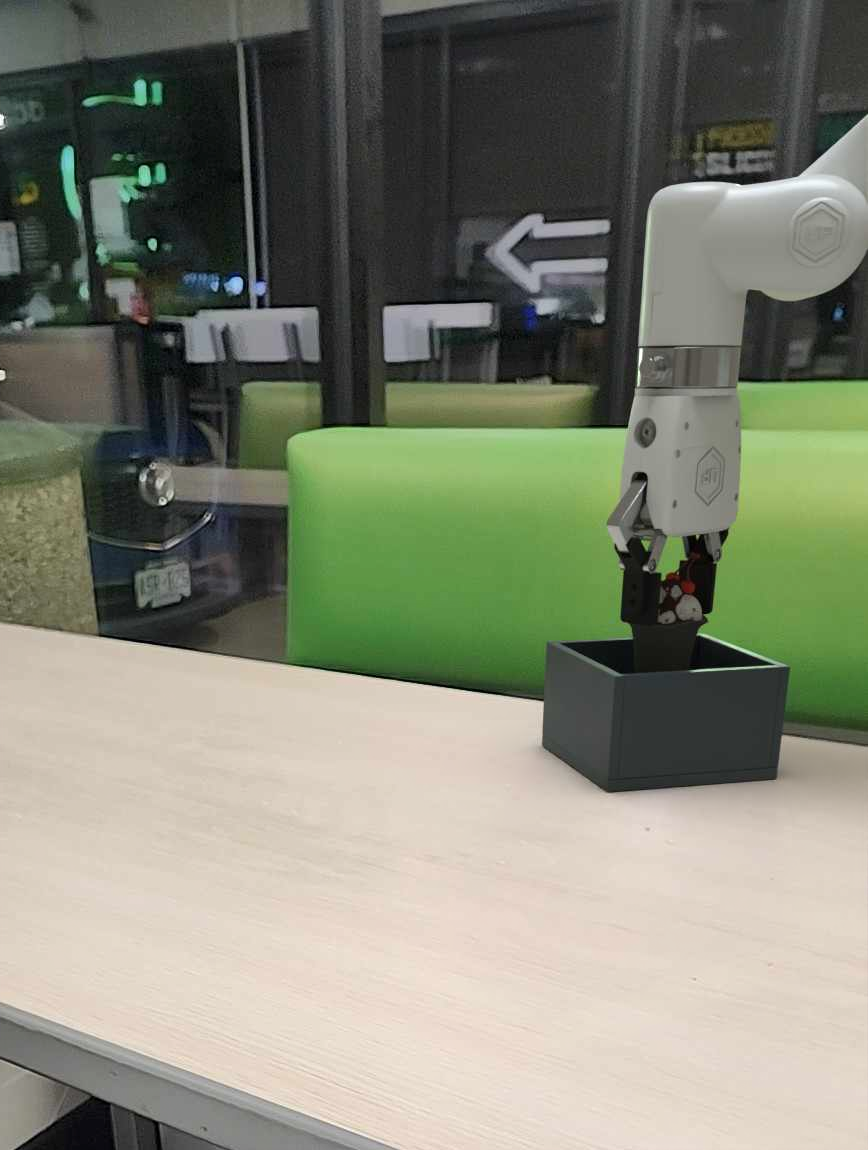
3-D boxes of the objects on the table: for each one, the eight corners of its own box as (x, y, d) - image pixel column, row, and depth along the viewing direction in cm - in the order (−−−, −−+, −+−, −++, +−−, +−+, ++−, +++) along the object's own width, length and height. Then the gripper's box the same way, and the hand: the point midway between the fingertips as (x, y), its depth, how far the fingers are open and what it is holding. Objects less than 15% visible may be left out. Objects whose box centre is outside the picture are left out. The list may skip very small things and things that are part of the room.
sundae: (714, 741, 110) (732, 553, 104) (655, 754, 106) (671, 560, 100) (656, 725, 115) (671, 545, 109) (598, 737, 111) (610, 551, 105)
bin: (694, 734, 119) (704, 633, 116) (776, 779, 106) (790, 666, 103) (541, 745, 116) (546, 641, 112) (607, 792, 103) (615, 676, 99)
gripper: (660, 375, 91) (641, 638, 98) (792, 374, 102) (766, 610, 109) (574, 375, 96) (561, 625, 103) (709, 374, 107) (688, 600, 114)
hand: (666, 615), depth 106 cm, fingers closed on sundae, 6 cm apart
